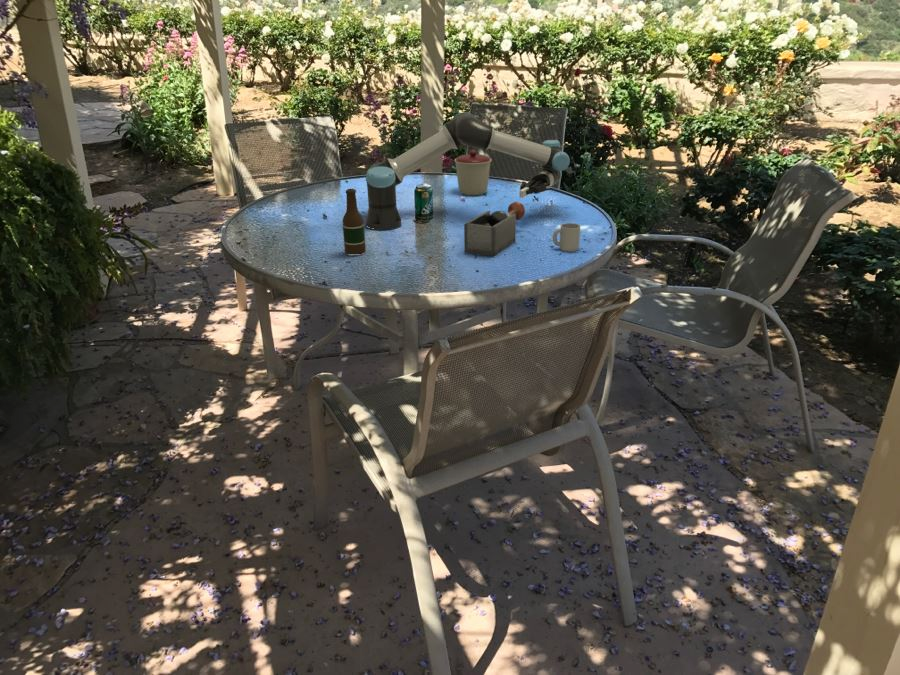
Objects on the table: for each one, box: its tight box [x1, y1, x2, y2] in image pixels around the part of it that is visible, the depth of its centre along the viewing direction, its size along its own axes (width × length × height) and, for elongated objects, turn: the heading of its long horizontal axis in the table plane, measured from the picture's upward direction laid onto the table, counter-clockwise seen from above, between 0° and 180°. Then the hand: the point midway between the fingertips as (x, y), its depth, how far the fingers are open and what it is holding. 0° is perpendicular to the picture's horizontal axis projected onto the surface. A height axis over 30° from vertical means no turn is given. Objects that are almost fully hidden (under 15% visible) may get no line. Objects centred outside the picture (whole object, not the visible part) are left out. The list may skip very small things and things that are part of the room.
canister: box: [453, 149, 493, 197], centre depth 340 cm, size 18×18×21 cm
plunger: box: [489, 201, 526, 226], centre depth 277 cm, size 18×8×8 cm, turn 152°
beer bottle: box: [342, 188, 367, 255], centre depth 258 cm, size 8×8×24 cm
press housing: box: [463, 210, 517, 258], centre depth 265 cm, size 20×12×11 cm, turn 152°
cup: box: [552, 222, 581, 253], centre depth 262 cm, size 7×10×9 cm
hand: (521, 194), depth 284 cm, fingers closed
